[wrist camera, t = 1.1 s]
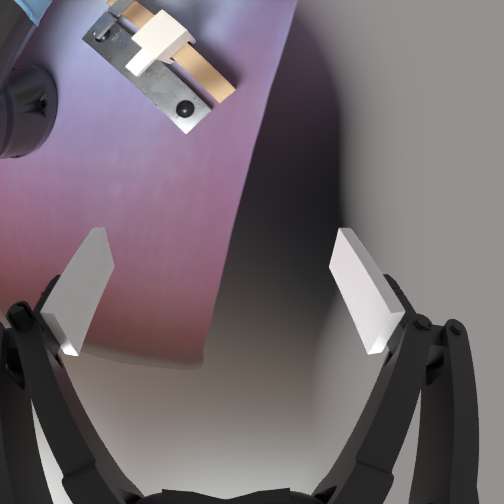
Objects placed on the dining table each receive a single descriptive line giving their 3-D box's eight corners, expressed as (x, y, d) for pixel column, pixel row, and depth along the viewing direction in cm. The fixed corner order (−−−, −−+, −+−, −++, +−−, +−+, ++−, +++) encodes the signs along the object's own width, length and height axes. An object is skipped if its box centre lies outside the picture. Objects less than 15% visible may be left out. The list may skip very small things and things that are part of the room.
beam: (114, 7, 22) (105, 2, 19) (127, -5, 21) (120, -11, 18) (220, 102, 32) (219, 103, 29) (235, 89, 31) (235, 89, 28)
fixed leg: (95, 33, 23) (87, 31, 21) (133, -5, 20) (127, -10, 18) (103, 40, 24) (96, 38, 22) (142, 1, 21) (137, -3, 19)
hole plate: (85, 39, 24) (81, 38, 23) (106, 15, 22) (103, 14, 21) (187, 132, 34) (185, 134, 33) (212, 109, 32) (211, 110, 31)
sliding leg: (133, 64, 27) (109, 60, 21) (176, 23, 25) (162, 9, 18) (152, 82, 29) (133, 81, 23) (196, 41, 27) (187, 30, 20)
